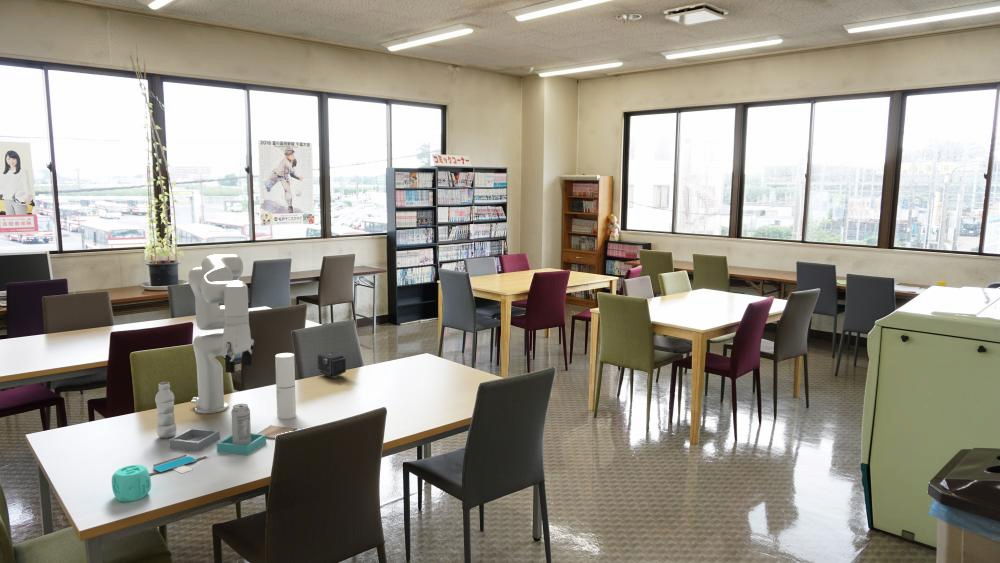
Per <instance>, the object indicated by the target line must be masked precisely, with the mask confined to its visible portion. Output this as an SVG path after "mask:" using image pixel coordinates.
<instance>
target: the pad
mask: <svg viewBox="0 0 1000 563" xmlns="http://www.w3.org/2000/svg"><path fill="white" fill-rule="evenodd" d="M297 429H298V428H297V427H290V426H282V425H281V426H279V425H271V424H270V425H269V426H267V427H266V428H264V429H262V430H261V431H259V432H258V433H256V434H264V435H266V439H267V438H268V440H269V439H270V440H276V439H275V436H276V435H277V434H281V433H285V432H289V431H294V430H295V431H297ZM295 431H294V432H295Z"/></svg>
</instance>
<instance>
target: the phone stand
mask: <svg viewBox="0 0 1000 563" xmlns="http://www.w3.org/2000/svg"><path fill="white" fill-rule="evenodd" d="M206 458H208V457H207V456H205V455H203V456H202V457H198V458H195V457H192V456H190V455H189V456H187V454H184V455H181V456H177V457H175V458H171V459H168V460H164V461H162V462H158V463H154V464H153V465H152V469H154V471H153V472H149V475H150V476H154V475H158V474H159V473H160V474H161V473H163V472H167V471H170V470H173V471H175V472H177V473H179V474H181V475H183V474H185V473H189V472H191V471H193V468H191V467H189V466H187V465H188V464H192V463H194V462H199V461H202V460H204V459H206Z"/></svg>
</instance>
